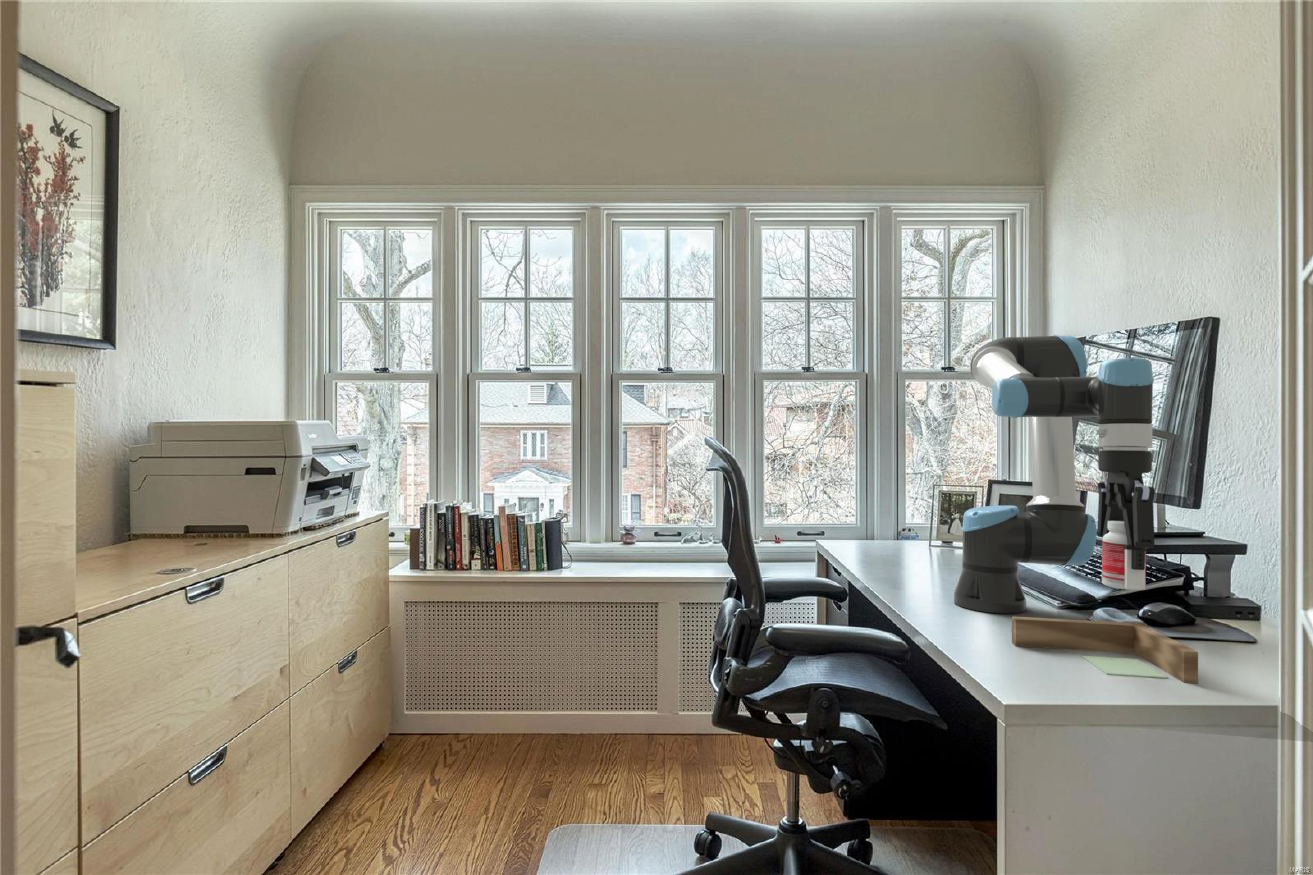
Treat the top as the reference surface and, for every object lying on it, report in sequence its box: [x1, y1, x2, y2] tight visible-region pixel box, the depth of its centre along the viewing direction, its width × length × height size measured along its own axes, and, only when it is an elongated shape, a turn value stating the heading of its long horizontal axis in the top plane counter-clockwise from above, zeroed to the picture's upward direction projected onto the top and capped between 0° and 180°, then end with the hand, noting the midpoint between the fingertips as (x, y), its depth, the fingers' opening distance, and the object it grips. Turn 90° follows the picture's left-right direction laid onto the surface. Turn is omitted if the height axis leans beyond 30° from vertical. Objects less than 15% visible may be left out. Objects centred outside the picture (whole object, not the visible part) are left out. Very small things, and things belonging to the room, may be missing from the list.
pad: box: [1081, 655, 1169, 679], centre depth 113 cm, size 9×9×1 cm
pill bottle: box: [1101, 521, 1147, 591], centre depth 113 cm, size 6×6×11 cm
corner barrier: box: [1011, 616, 1199, 684], centre depth 116 cm, size 17×22×5 cm
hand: (1123, 584), depth 113 cm, fingers closed on pill bottle, 6 cm apart
